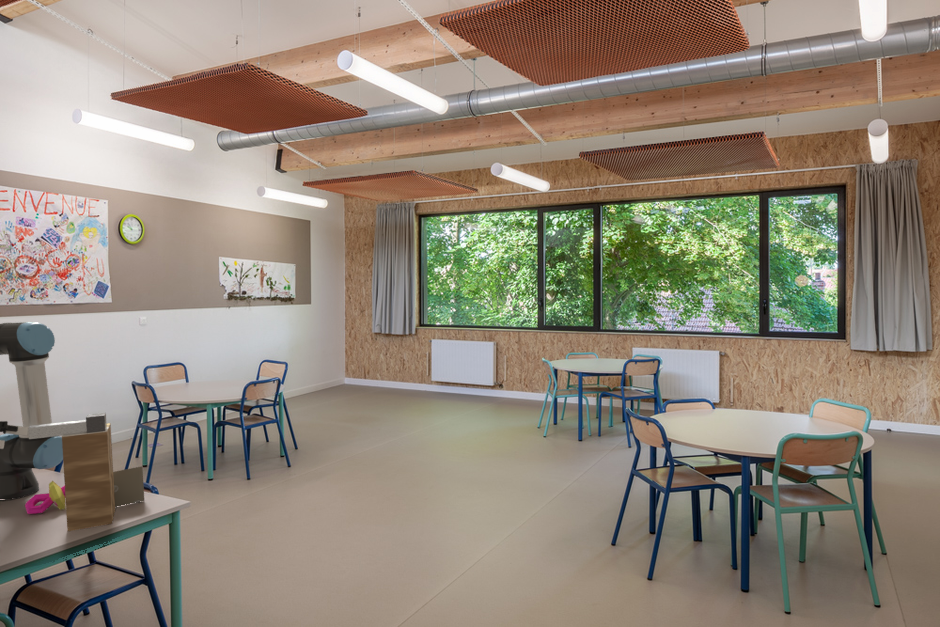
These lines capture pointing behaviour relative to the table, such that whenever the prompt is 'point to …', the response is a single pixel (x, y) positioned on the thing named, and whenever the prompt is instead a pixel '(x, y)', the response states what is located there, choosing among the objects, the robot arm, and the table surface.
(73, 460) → the stand
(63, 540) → the table surface
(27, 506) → the toy
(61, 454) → the robot arm
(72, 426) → the metal block
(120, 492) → the laptop
